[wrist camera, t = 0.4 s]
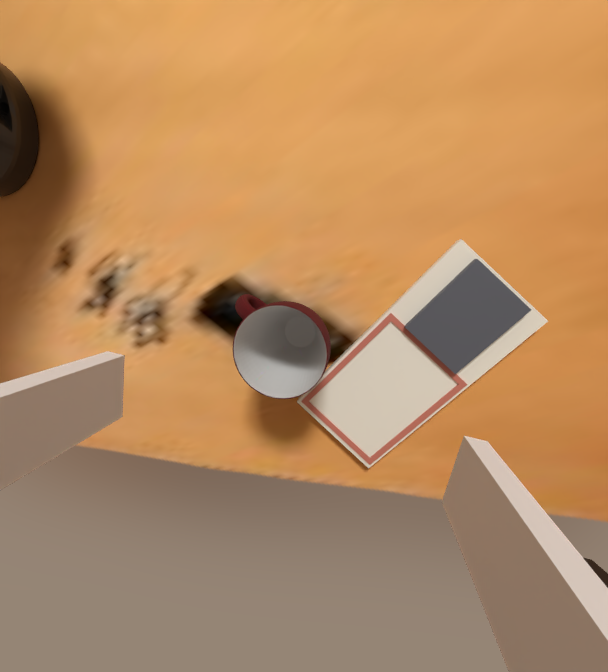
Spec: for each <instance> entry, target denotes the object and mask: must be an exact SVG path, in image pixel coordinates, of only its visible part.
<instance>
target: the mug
mask: <svg viewBox="0 0 608 672" xmlns="http://www.w3.org/2000/svg"><path fill="white" fill-rule="evenodd" d="M235 308H236V311H237V313H238V314H239V316H240V317H241V318H242V319H243V321H242V322H241V324H240V325H239V327H238V329H237V331H236V333H235V337H234V341H233V357H234V361H235V365H236V367H237V370H238V371H239V373H240V375H241V377H242V378H243V379H244V381H245V382H246V383H247V384H248V385H249V386H250V387H251V388H253V389H254V390H256V391H257V392H259V393H261V394H263V395H265V396H268V397H271V398H276V399H290V398H295V397H298V396H301V395H303V394H305V393H307V392H308V391H310V390H311V389H312V388H313V387H314V386H315V385H316V384H317V383H318V382H319V381H320V379H321V378H322V376H323V374H324V372H325V370H326V367H327V364H328V361H329V357H330V349H331V345H330V337H329V333H328V330H327V328H326V326H325V324H324V322H323V321H322V319H321V318H320V317H319V316H318V315H317V314H316V313H315V312H314V311H313V310H311V309H310V308H308V307H306V306H304V305H302V304H299V303H295V302H287V301H283V302H275V303H271V304H268V305H266V304H265V303H264V302H263V301H261V300H260V299H258V298H256V297H255V296H252V295H249V294H245V295H242V296H240V297H239V298H238V299H237V301H236V304H235Z"/></svg>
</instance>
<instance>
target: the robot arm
mask: <svg viewBox="0 0 608 672" xmlns="http://www.w3.org/2000/svg"><path fill="white" fill-rule="evenodd" d="M37 151H38V127H37V121H36V116H35V112H34V109H33V106H32V103H31V101H30V99H29V96H28V94H27V92H26V90H25V89H24V87H23V85H22V84H21V83H20V81H19V80H18V79H17V77H16V76H15V75H14V74H13V73H12V72H11V71H10V70H9V69H8V68H7V67H6V66H4V65H3V64H2V63H0V197H2V196H6V195H9V194H11V193H13V192H15V191H16V190H18V189H19V188H20V187H21V186H22V185H23V184H24V183H25V182H26V180H27V179H28V177H29V176H30V174H31V172H32V170H33V167H34V164H35V161H36V157H37ZM124 356H125V355H121V354H117V353H112V352H108V351H107V352H104V353H101V354H97V355H94V356H91V357H87V358H84V359H81V360H77V361H74V362H71V363H67V364H64V365H61V366H57V367H54V368H50V369H47V370H44V371H40V372H37V373H34V374H30V375H27V376H24V377H20V378H17V379H14V380H10V381H7V382H4V383H0V490H2V489H3V488H5V487H7V486H8V485H10V484H11V483H13V482H15V481H17V480H18V479H20V478H22V477H23V476H25V475H27V474H28V473H30V472H32V471H33V470H35V469H37V468H38V467H40V466H41V465H43V464H45V463H46V462H48V461H50V460H51V459H53V458H55V457H57V456H58V455H60V454H61V453H63V452H65V451H66V450H68V449H70V448H71V447H73V446H75V445H76V444H78V443H80V442H81V441H83V440H85V439H86V438H88V437H90V436H91V435H93V434H95V433H96V432H98V431H100V430H101V429H103V428H105V427H106V426H108V425H110V424H111V423H113V422H115V421H116V420H118V419H120V418H121V417H122V413H123V384H124ZM442 504H443V507H444V509H445V511H446V514H447V517H448V519H449V522H450V524H451V527H452V529H453V532H454V534H455V537H456V539H457V541H458V544H459V547H460V550H461V552H462V555H463V557H464V560H465V562H466V565H467V567H468V570H469V572H470V575H471V577H472V580H473V582H474V585H475V588H476V590H477V592H478V595H479V598H480V600H481V602H482V605H483V607H484V610H485V613H486V615H487V618H488V620H489V623H490V626H491V628H492V630H493V633H494V636H495V638H496V641H497V643H498V646H499V648H500V651H501V653H502V656H503V658H504V661H505V663H506V666H507V668H508V671H509V672H608V574H607V573H606V572H605V571H604V570H603V569H602V568H601V567H599V566H598V565H597V564H596V563H595V562H594V561H592V560H590V559H586V558H583V557H582V556H581V555H580V554H579V552H578V551H577V550H576V549H575V548H574V546H573V545H572V544H571V543H570V542H569V541H568V539H567V538H566V537H565V535H564V534H563V533H562V532H561V531H560V529H559V528H558V527H557V526H556V524H555V523H554V522H553V521H552V520H551V518H550V517H549V516H548V515H547V513H546V512H545V511H544V510H543V509H542V507H541V506H540V505H539V504H538V502H537V501H536V500H535V499H534V498H533V496H532V495H531V494H530V493H529V492H528V490H527V489H526V488H525V487H524V485H523V484H522V483H521V482H520V481H519V479H518V478H517V477H516V476H515V474H514V473H513V472H512V471H511V470H510V468H509V467H508V466H507V465H506V464H505V462H504V461H503V460H502V459H501V457H500V456H499V455H498V454H497V453H496V451H495V450H494V449H493V448H492V446H491V445H490V444H489V443H488V442H487V441H484V440H480V439H476V438H471V437H467V436H464V437H463V440H462V443H461V446H460V449H459V452H458V455H457V458H456V461H455V464H454V467H453V470H452V473H451V476H450V479H449V482H448V485H447V488H446V491H445V494H444V497H443V500H442Z"/></svg>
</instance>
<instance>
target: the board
mask: <svg viewBox="0 0 608 672" xmlns="http://www.w3.org/2000/svg"><path fill="white" fill-rule="evenodd" d="M546 322H548V321H547V320H546V319H545V318H544V317H543V316H542V315H541V314H540V313H539V312H538V311H537V310H536V309H535V308H534V307H533V306H532V305H530V304H529V303H528V302H527V301H526V300H525V299H524V298H523V297H522V296H521V295H520V294H519V293H518V292H517V291H516V290H515V289H514V288H512V287H511V286H510V285H509V284H508V283H507V282H506V281H505V280H504V279H503V278H502V277H501V276H500V275H499V274H498V273H497V272H496V271H494V270H493V269H492V268H491V267H490V266H489V265H488V264H487V263H486V262H485V261H484V260H483V259H482V258H481V257H480V256H479V255H477V254H476V253H475V252H474V251H473V250H472V249H471V248H470V247H469V246H468V245H467V244H466V243H465V242H464V241H463V240H462V239H460V240H457V241H456V242H455V243H454V244H453V245H452V246H451V247H450V248H449V249H448V250H447V251H446V252H445V253H444V254H443V255H442V256H441V257H440V258H439V259H438V260H437V261H436V262H435V263H434V264H433V265H432V266H431V267H430V268H429V269H428V270H427V271H426V272H425V273H424V274H423V275H422V276H421V277H420V278H419V279H418V280H417V281H416V282H415V283H414V284H413V285H412V286H411V287H410V288H409V289H408V290H407V291H406V292H405V293H404V294H403V295H402V296H401V297H400V298H399V299H398V300H397V301H396V302H395V303H394V304H393V305H392V306H391V307H390V308H389V309H388V310H387V311H386V312H384V313H383V314H382V315H381V316H380V317H379V318H378V319H377V320H376V321H375V322H374V323H373V324H372V325H371V326H370V327H369V328H368V329H367V330H366V331H365V332H364V333H363V334H362V335H361V336H360V337H359V338H358V339H357V340H356V341H355V342H354V343H353V344H352V345H351V346H350V347H349V348H348V349H347V350H346V351H345V352H344V353H343V354H342V355H341V356H340V357H339V358H338V359H337V360H336V361H335V362H334V363H333V364H332V365H331V366H330V367H329V368H328V369H327V370H326V371H325V372H324V374H323V376H322V378H321V379H320V381H319V382H318V383H317V384H316V385H315V386H314V387H313V388H312V389H311V390H310V391H308V392H307V393H305V394H303V395H301V396H300V397H299V398H298V400H297V403H298V404H300V405H301V406H302V407H303V408H304V409H305V410H306V411H307V412H308V413H309V414H310V415H311V416H312V417H314V418H315V419H316V420H317V421H318V422H319V423H320V424H321V425H322V426H323V427H324V428H325V429H327V430H328V431H329V432H330V433H331V434H332V435H333V436H334V437H335V438H336V439H337V440H338V441H340V442H341V443H342V444H343V445H344V446H345V447H346V448H347V449H348V450H349V451H350V452H351V453H353V454H354V455H355V456H356V457H357V458H358V459H359V460H360V461H361V462H362V463H363V464H364V465H366V466H367V467H368V468H370V467H371V466H372V465H373V464H375V463H376V462H377V461H378V460H380V459H381V458H382V457H383V456H384V455H386V454H387V453H388V452H389V451H391V450H392V449H393V448H394V447H395V446H397V445H398V444H399V443H400V442H401V441H403V440H404V439H405V438H406V437H408V436H409V435H410V434H411V433H412V432H414V431H415V430H416V429H417V428H419V427H420V426H421V425H422V424H423V423H425V422H426V421H427V420H428V419H430V418H431V417H432V416H433V415H434V414H436V413H437V412H438V411H439V410H440V409H442V408H443V407H444V406H445V405H447V404H448V403H449V402H450V401H451V400H453V399H454V398H455V397H456V396H458V395H459V394H460V393H461V392H462V391H464V390H465V389H466V388H467V387H468V386H470V385H471V384H472V383H473V382H475V381H476V380H477V379H478V378H479V377H481V376H482V375H483V374H484V373H486V372H487V371H488V370H489V369H490V368H492V367H493V366H494V365H495V364H497V363H498V362H499V361H500V360H501V359H503V358H504V357H505V356H506V355H507V354H509V353H510V352H511V351H512V350H514V349H515V348H516V347H517V346H518V345H520V344H521V343H522V342H523V341H525V340H526V339H527V338H528V337H529V336H531V335H532V334H533V333H534V332H535V331H537V330H538V329H539V328H540V327H542V326H543V325H544V324H545V323H546Z"/></svg>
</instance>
